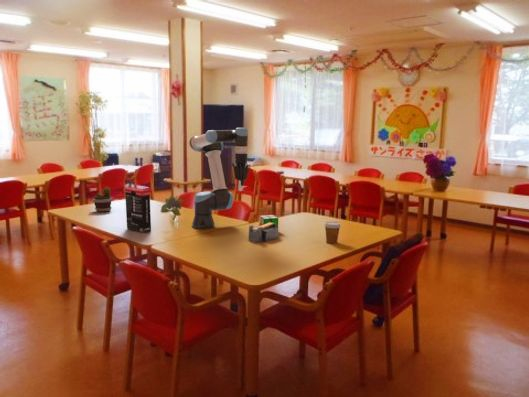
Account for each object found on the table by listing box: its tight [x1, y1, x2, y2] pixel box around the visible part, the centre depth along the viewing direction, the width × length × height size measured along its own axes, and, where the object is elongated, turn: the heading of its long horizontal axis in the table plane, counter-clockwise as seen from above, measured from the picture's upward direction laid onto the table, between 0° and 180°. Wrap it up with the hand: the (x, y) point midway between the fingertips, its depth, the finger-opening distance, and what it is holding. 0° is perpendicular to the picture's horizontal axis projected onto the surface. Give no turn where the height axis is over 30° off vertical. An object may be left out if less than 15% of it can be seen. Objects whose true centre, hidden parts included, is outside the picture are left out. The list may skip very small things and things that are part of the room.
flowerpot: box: [92, 186, 114, 213], centre depth 351 cm, size 14×15×20 cm
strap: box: [251, 222, 273, 232], centre depth 278 cm, size 5×17×2 cm, turn 142°
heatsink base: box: [248, 222, 279, 244], centre depth 279 cm, size 12×19×9 cm, turn 142°
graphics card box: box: [124, 187, 152, 233], centre depth 293 cm, size 17×7×27 cm, turn 56°
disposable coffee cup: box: [324, 221, 342, 245], centre depth 272 cm, size 10×10×12 cm
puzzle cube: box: [258, 214, 279, 229], centre depth 296 cm, size 10×10×10 cm
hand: (240, 190), depth 284 cm, fingers closed
